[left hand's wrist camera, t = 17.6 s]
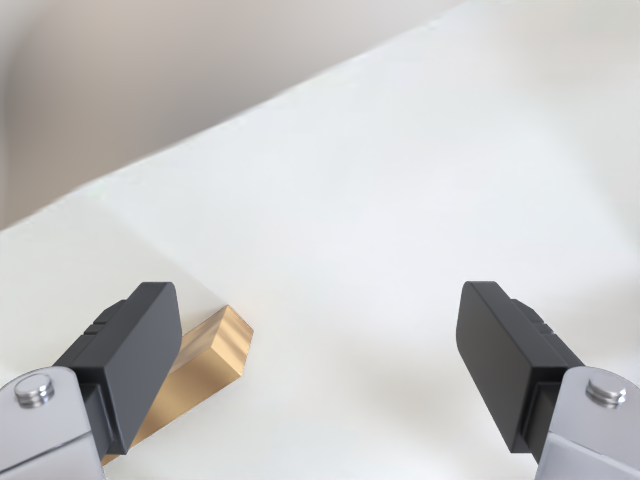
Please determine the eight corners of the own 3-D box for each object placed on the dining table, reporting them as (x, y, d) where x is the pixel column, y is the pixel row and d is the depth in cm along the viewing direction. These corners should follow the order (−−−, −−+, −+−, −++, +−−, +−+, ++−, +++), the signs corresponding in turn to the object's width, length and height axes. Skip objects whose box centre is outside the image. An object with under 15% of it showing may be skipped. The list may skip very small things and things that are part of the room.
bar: (228, 304, 46) (210, 346, 39) (253, 330, 47) (241, 376, 40) (85, 405, 52) (46, 459, 44) (112, 426, 53) (78, 482, 46)
